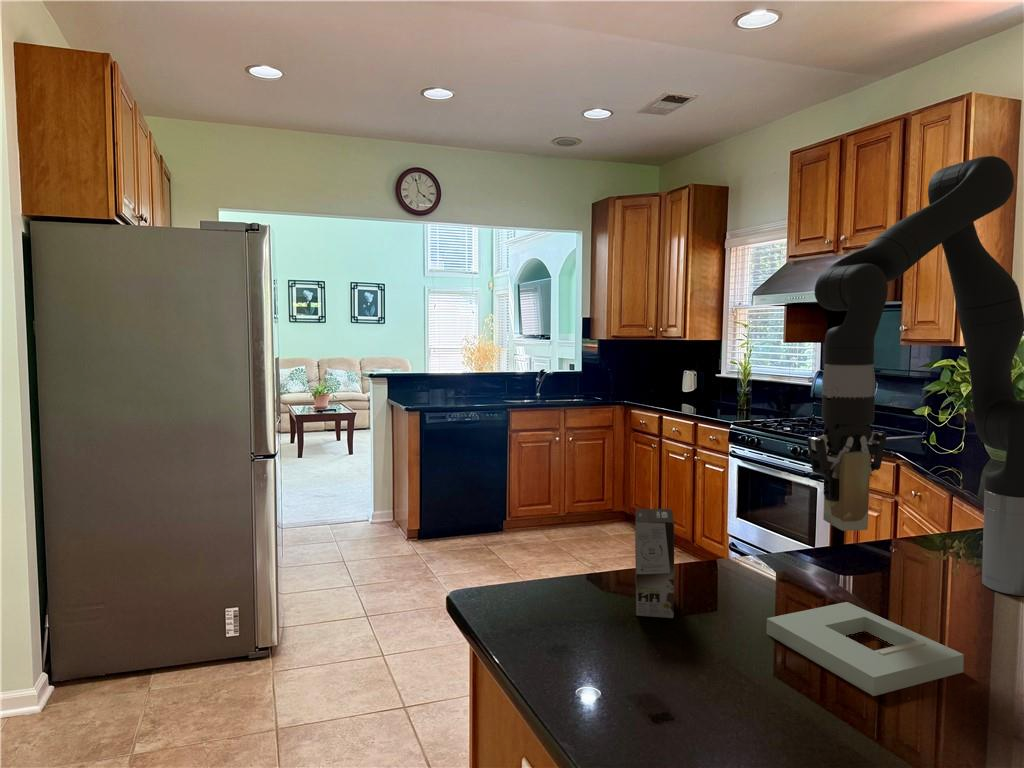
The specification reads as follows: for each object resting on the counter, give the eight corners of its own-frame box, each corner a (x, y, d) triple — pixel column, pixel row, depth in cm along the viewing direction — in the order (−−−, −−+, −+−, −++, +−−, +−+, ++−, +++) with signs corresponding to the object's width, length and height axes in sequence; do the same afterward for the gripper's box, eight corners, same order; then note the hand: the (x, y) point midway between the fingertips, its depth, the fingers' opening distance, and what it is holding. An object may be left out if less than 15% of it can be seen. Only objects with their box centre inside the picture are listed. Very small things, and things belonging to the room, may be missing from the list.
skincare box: (822, 520, 116) (823, 447, 115) (847, 519, 116) (849, 446, 115) (842, 531, 109) (844, 454, 108) (869, 530, 109) (871, 453, 108)
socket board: (846, 616, 114) (847, 600, 114) (963, 672, 95) (963, 653, 95) (766, 633, 109) (766, 617, 108) (873, 696, 90) (873, 675, 90)
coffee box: (675, 619, 115) (674, 522, 114) (635, 616, 116) (634, 521, 115) (673, 597, 124) (673, 508, 123) (636, 595, 125) (635, 507, 124)
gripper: (865, 389, 117) (862, 489, 118) (794, 393, 112) (792, 497, 113) (903, 392, 109) (900, 500, 111) (829, 397, 105) (827, 509, 106)
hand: (846, 498), depth 112 cm, fingers closed on skincare box, 5 cm apart
